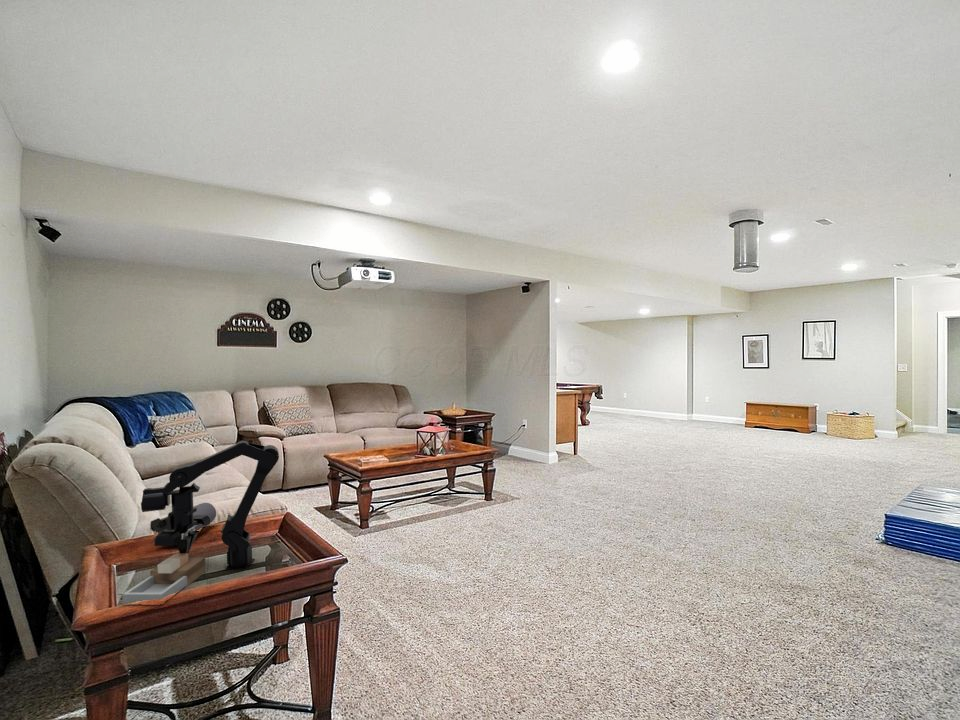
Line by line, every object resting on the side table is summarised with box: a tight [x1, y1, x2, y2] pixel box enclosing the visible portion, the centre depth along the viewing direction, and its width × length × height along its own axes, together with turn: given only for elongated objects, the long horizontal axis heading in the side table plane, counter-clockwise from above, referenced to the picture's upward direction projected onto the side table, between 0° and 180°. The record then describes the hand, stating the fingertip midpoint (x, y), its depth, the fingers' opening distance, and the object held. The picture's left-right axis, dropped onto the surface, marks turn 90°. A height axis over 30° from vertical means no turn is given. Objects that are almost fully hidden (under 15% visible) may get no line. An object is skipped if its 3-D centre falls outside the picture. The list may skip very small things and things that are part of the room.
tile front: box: [157, 558, 180, 573], centre depth 147 cm, size 4×4×2 cm
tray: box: [121, 575, 188, 605], centre depth 141 cm, size 11×11×3 cm
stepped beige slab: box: [149, 557, 206, 587], centre depth 151 cm, size 11×9×4 cm
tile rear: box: [166, 552, 189, 567], centre depth 151 cm, size 4×4×2 cm
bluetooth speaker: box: [157, 502, 217, 535], centre depth 185 cm, size 23×9×10 cm, turn 179°
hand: (184, 557), depth 154 cm, fingers closed
